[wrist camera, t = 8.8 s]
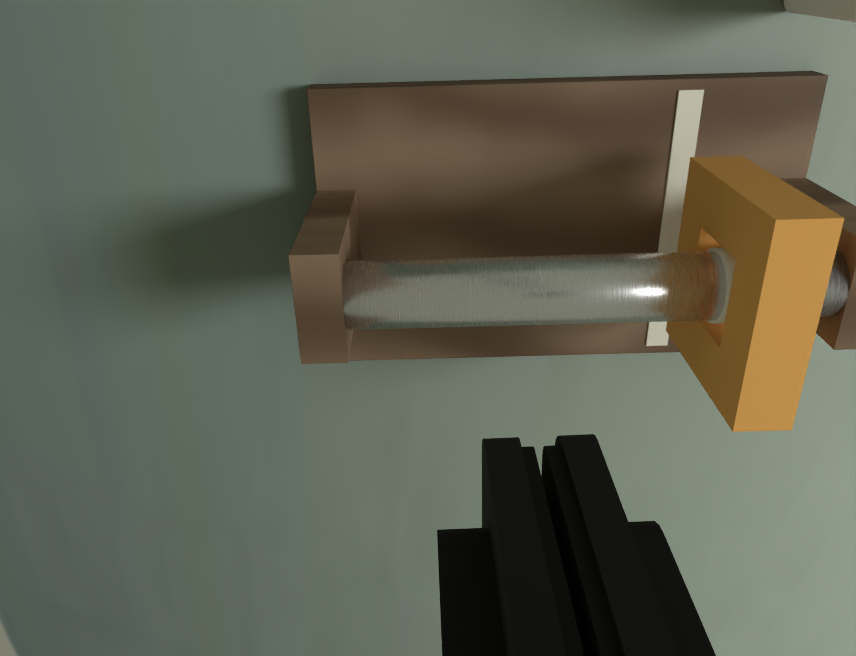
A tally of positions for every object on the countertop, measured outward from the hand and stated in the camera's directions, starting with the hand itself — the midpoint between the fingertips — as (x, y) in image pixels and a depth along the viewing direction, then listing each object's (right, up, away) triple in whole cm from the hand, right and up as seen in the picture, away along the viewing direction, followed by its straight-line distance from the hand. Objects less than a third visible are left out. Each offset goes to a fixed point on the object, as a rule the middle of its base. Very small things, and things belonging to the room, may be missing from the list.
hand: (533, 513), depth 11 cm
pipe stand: (+5, +9, +28) cm, 30 cm away
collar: (+12, +7, +24) cm, 28 cm away
